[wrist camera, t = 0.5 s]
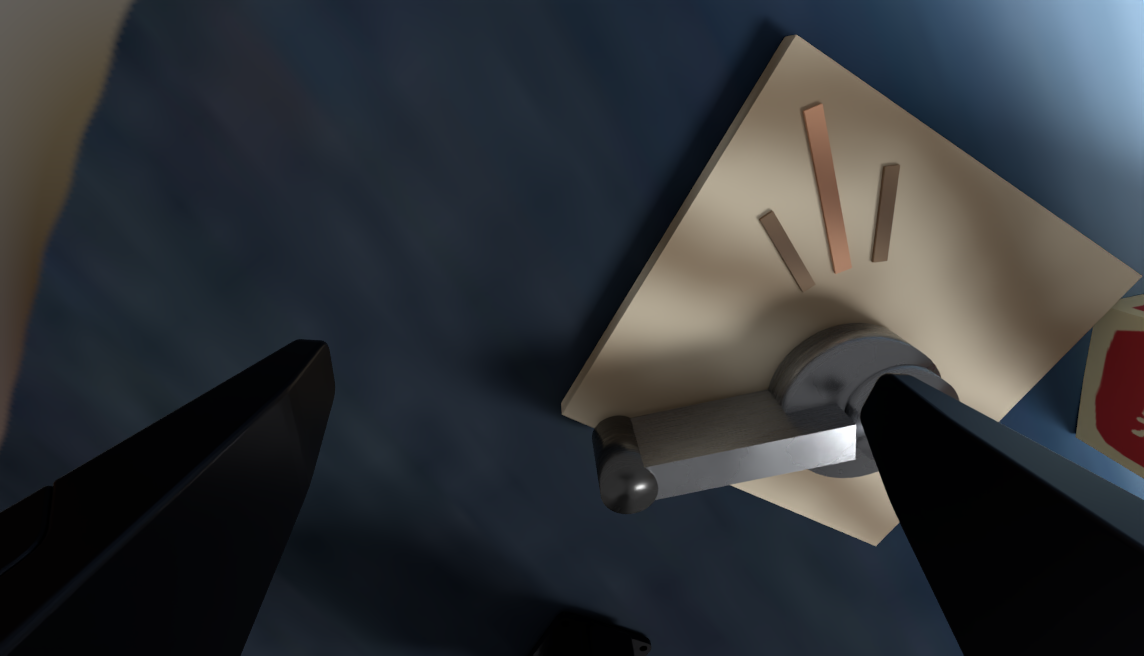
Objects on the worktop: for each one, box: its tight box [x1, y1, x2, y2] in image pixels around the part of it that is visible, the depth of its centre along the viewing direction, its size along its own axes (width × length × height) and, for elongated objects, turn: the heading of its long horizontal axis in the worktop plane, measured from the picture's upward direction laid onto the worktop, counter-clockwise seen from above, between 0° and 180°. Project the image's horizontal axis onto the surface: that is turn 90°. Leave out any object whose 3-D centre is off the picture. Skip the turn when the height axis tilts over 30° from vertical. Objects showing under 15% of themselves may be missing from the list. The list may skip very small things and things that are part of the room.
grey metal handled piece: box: [592, 323, 960, 514], centre depth 24 cm, size 15×7×4 cm, turn 102°
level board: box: [561, 35, 1142, 546], centre depth 25 cm, size 18×20×1 cm
